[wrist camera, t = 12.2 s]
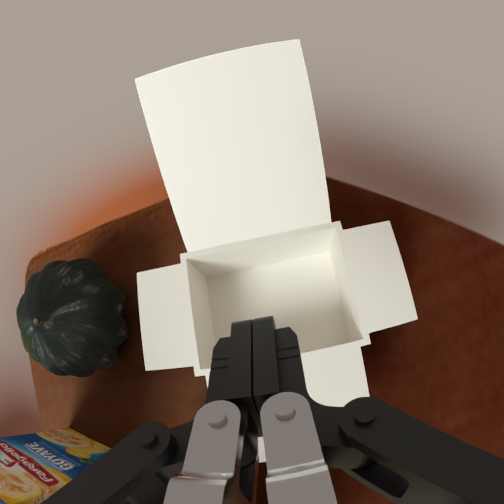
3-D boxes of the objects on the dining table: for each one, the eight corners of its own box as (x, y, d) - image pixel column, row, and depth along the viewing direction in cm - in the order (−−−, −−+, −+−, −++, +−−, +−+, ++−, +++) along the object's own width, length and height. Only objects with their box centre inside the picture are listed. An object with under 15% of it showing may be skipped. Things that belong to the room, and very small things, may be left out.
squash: (29, 266, 37) (-26, 317, 23) (110, 226, 37) (64, 272, 23) (76, 344, 42) (44, 411, 28) (155, 317, 42) (140, 392, 28)
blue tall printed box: (68, 427, 34) (-55, 440, 13) (130, 456, 32) (6, 505, 11) (66, 464, 31) (-47, 490, 11) (127, 495, 29) (17, 555, 9)
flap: (329, 218, 30) (297, 40, 22) (331, 222, 29) (299, 38, 21) (188, 248, 31) (137, 79, 23) (187, 252, 30) (134, 79, 22)
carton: (370, 240, 37) (386, 211, 29) (407, 407, 29) (434, 419, 22) (165, 282, 39) (136, 263, 31) (189, 446, 31) (162, 466, 24)
